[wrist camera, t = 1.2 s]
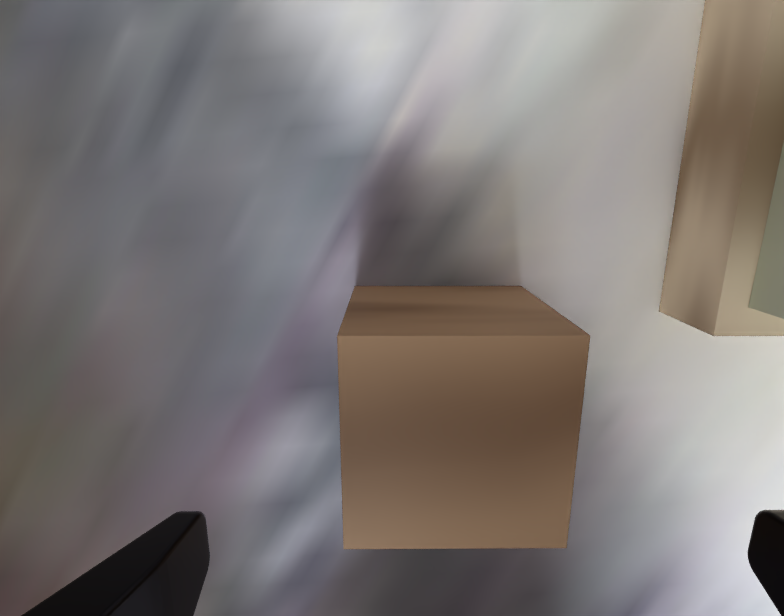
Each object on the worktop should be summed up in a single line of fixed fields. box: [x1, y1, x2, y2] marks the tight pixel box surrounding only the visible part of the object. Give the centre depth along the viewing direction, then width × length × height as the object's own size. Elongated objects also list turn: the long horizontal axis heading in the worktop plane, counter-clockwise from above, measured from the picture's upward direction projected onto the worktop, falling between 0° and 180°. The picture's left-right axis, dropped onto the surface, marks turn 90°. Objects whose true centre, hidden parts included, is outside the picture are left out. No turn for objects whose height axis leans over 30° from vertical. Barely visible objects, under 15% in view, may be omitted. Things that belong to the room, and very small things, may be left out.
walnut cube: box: [337, 286, 590, 549], centre depth 12 cm, size 5×5×5 cm
